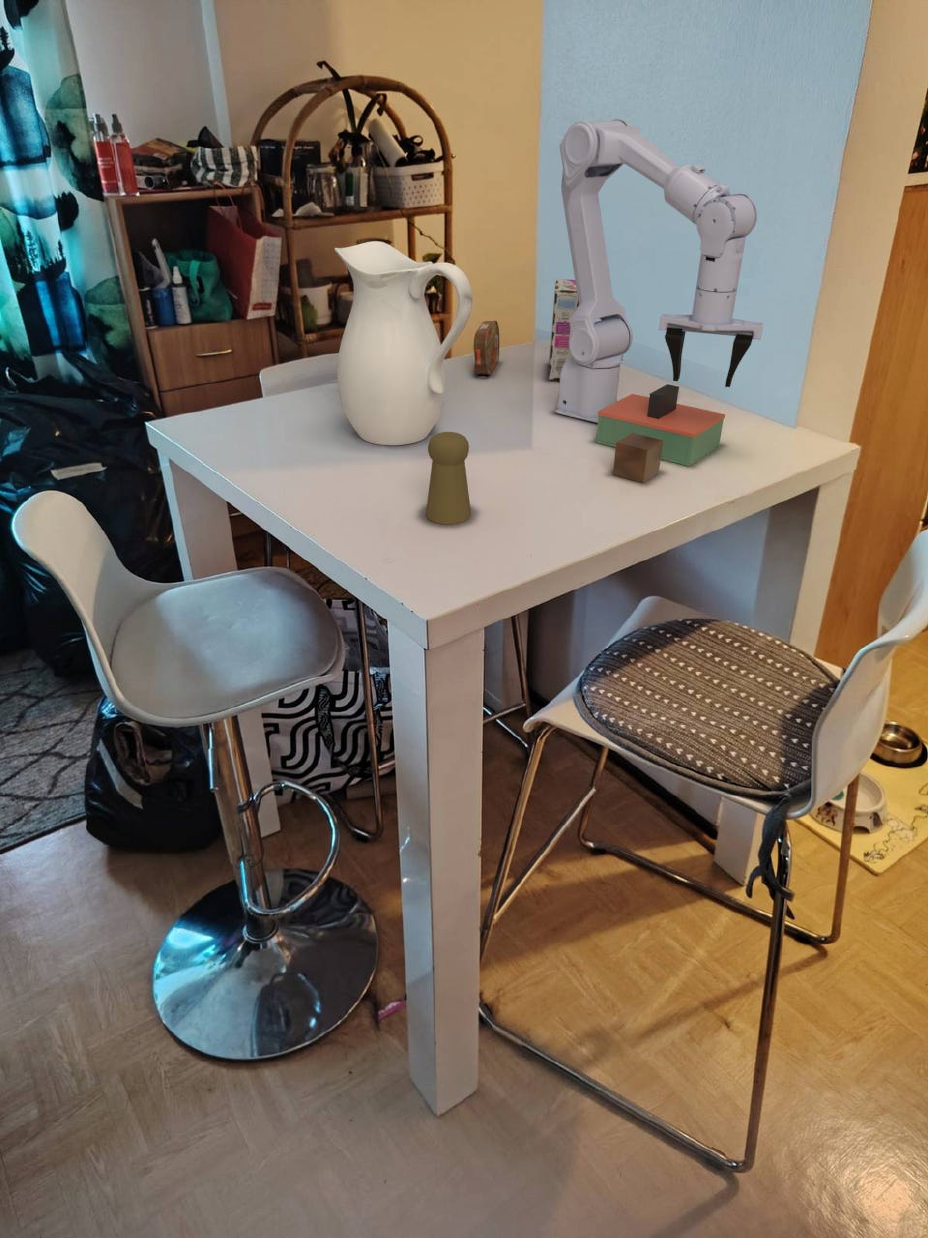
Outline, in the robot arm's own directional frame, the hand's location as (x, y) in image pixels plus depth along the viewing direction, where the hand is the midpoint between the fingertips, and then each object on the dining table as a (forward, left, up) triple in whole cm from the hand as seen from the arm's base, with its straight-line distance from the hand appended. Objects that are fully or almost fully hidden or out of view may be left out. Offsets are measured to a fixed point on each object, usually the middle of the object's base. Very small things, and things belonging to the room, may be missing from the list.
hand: (701, 382), depth 135 cm
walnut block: (-2, -15, -10) cm, 18 cm away
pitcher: (-37, -25, -10) cm, 46 cm away
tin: (-50, +14, -10) cm, 53 cm away
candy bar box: (-37, +21, -10) cm, 44 cm away
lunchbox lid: (-5, -2, -6) cm, 8 cm away
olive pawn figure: (-15, -43, -10) cm, 47 cm away
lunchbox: (-5, -2, -10) cm, 12 cm away
